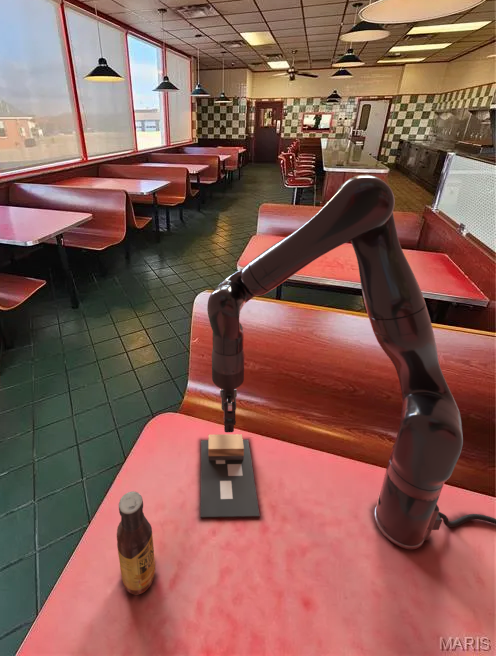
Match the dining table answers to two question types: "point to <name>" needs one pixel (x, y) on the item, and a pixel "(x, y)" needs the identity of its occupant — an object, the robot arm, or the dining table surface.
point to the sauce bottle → (135, 545)
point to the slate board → (227, 486)
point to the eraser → (226, 447)
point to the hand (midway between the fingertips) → (227, 417)
